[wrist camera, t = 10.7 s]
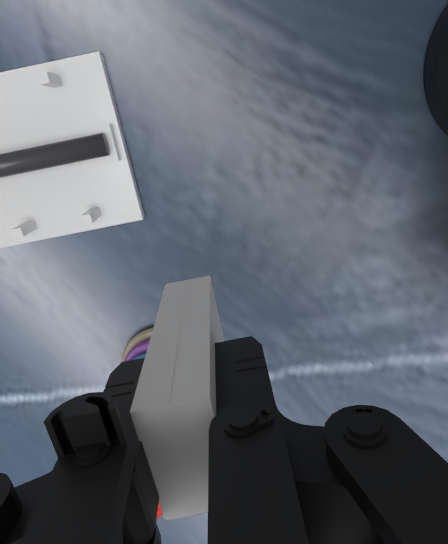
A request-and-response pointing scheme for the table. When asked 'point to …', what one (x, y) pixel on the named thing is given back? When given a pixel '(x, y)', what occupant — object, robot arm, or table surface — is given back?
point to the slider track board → (62, 152)
